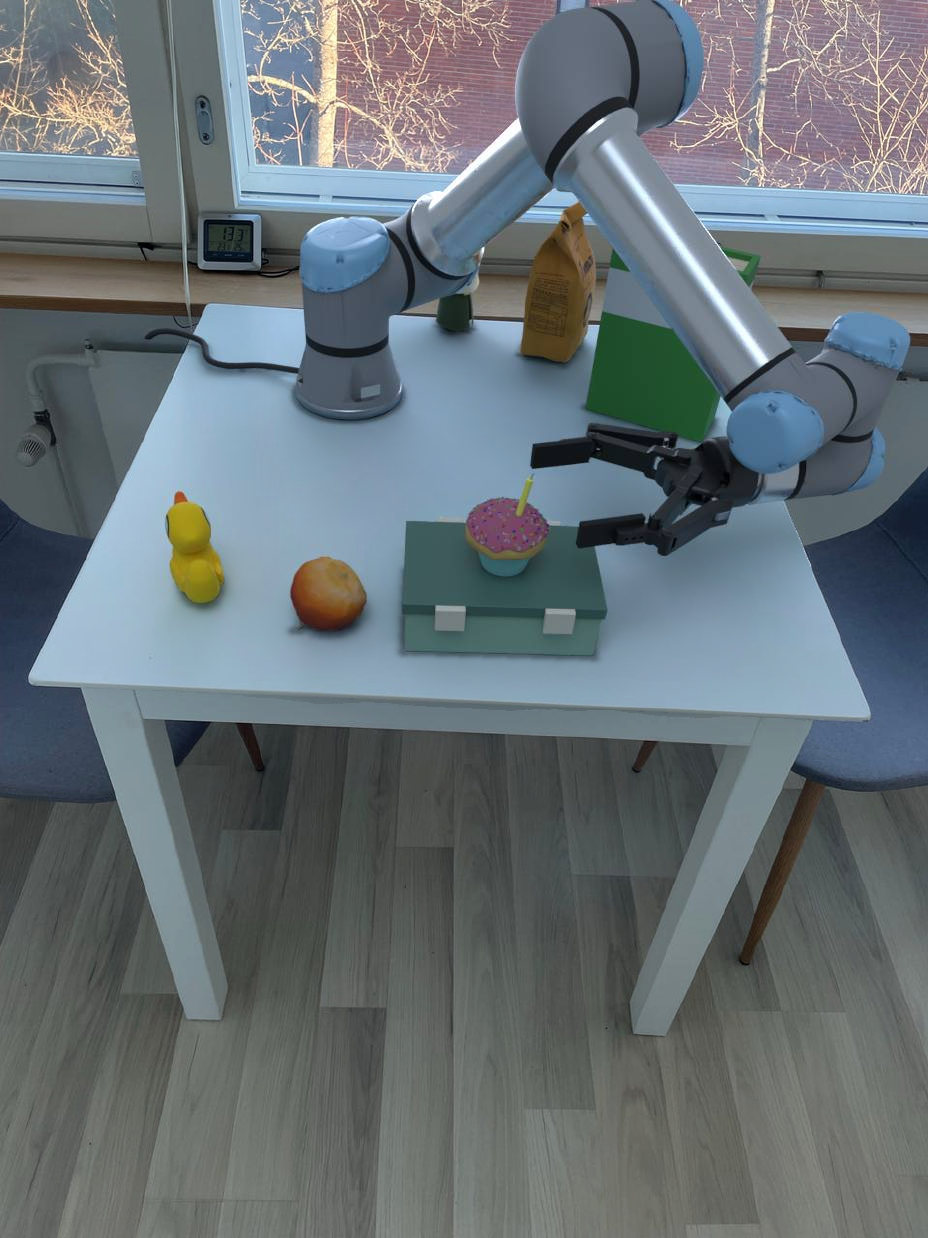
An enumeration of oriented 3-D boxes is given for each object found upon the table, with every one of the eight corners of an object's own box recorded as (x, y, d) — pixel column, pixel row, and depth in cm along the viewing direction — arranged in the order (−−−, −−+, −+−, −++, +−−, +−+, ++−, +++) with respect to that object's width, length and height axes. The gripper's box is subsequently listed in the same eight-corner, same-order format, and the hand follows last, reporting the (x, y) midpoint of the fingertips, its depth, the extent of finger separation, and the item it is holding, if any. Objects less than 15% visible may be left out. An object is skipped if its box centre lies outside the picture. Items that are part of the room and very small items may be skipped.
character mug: (455, 343, 143) (459, 263, 134) (418, 330, 146) (420, 251, 137) (489, 319, 150) (495, 242, 141) (454, 308, 153) (458, 231, 144)
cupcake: (552, 549, 95) (567, 455, 87) (530, 598, 89) (544, 502, 81) (476, 530, 97) (484, 435, 89) (450, 577, 91) (456, 480, 83)
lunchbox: (401, 658, 92) (402, 609, 87) (405, 564, 103) (406, 515, 98) (597, 663, 93) (608, 615, 88) (580, 569, 104) (590, 522, 99)
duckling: (166, 557, 101) (150, 485, 94) (214, 548, 103) (201, 477, 96) (183, 623, 94) (166, 549, 87) (234, 611, 96) (222, 539, 89)
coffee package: (595, 340, 147) (619, 202, 132) (567, 371, 139) (589, 227, 124) (541, 325, 150) (558, 188, 135) (510, 354, 142) (524, 212, 126)
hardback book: (585, 408, 131) (613, 243, 114) (602, 387, 136) (631, 226, 119) (701, 442, 126) (748, 275, 109) (714, 418, 131) (760, 255, 114)
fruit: (276, 583, 97) (310, 534, 93) (340, 609, 100) (376, 563, 96) (270, 635, 91) (307, 585, 87) (338, 661, 95) (376, 614, 90)
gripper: (793, 572, 88) (595, 603, 83) (682, 437, 105) (512, 457, 100) (818, 511, 82) (608, 540, 78) (697, 380, 100) (519, 397, 95)
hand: (554, 493), depth 89 cm, fingers open, 13 cm apart
